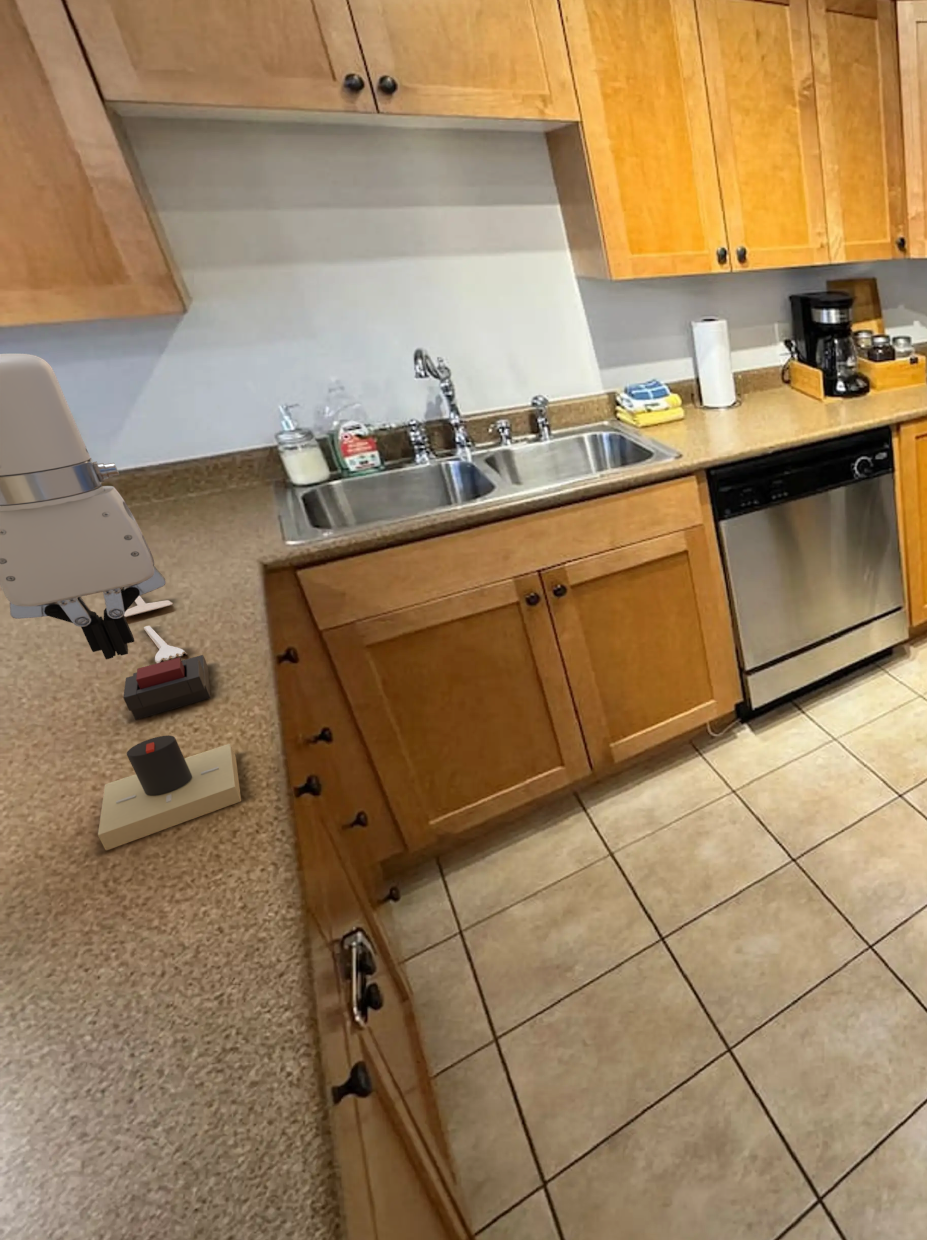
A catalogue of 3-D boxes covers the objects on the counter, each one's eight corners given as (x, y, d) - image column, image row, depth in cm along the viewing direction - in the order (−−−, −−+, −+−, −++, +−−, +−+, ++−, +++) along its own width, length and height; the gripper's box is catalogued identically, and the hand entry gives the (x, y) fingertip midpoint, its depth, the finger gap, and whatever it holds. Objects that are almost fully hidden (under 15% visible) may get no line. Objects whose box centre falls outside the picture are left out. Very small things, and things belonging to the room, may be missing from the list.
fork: (162, 626, 123) (158, 616, 122) (193, 661, 112) (188, 649, 111) (133, 634, 120) (129, 624, 120) (162, 670, 109) (157, 659, 109)
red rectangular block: (142, 680, 100) (137, 668, 99) (184, 668, 103) (179, 657, 102) (141, 691, 97) (135, 679, 97) (185, 679, 100) (180, 667, 99)
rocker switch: (138, 685, 106) (127, 660, 104) (208, 666, 110) (197, 642, 109) (135, 725, 96) (122, 697, 95) (211, 702, 101) (199, 676, 100)
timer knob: (145, 785, 82) (125, 743, 80) (192, 769, 84) (173, 728, 82) (144, 800, 79) (124, 758, 78) (192, 784, 82) (173, 742, 80)
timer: (112, 799, 83) (104, 782, 82) (236, 757, 90) (229, 741, 89) (105, 851, 76) (96, 833, 75) (241, 801, 82) (234, 785, 81)
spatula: (124, 625, 124) (120, 617, 123) (98, 583, 140) (95, 575, 140) (176, 611, 128) (173, 603, 128) (145, 572, 145) (142, 565, 145)
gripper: (149, 463, 82) (211, 618, 88) (-77, 495, 72) (10, 668, 78) (152, 475, 77) (216, 638, 83) (-91, 512, 67) (3, 694, 73)
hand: (117, 652), depth 80 cm, fingers closed
